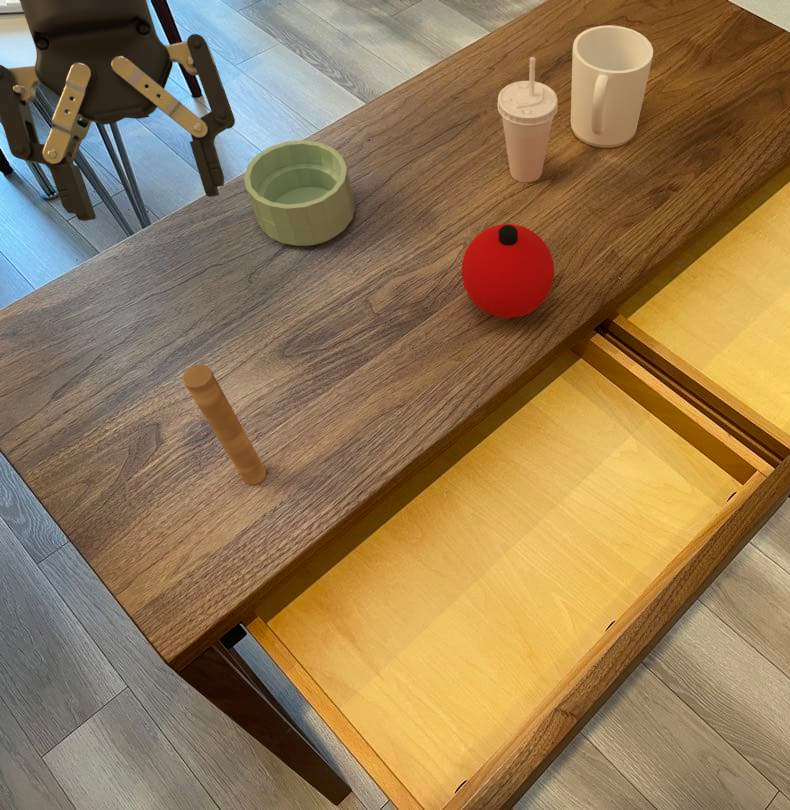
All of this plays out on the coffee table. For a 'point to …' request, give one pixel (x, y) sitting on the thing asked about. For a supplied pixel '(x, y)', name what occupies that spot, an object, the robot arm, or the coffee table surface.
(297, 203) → the bowl
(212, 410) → the stick
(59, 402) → the coffee table surface
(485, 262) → the ornament
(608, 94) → the mug
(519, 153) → the smoothie
